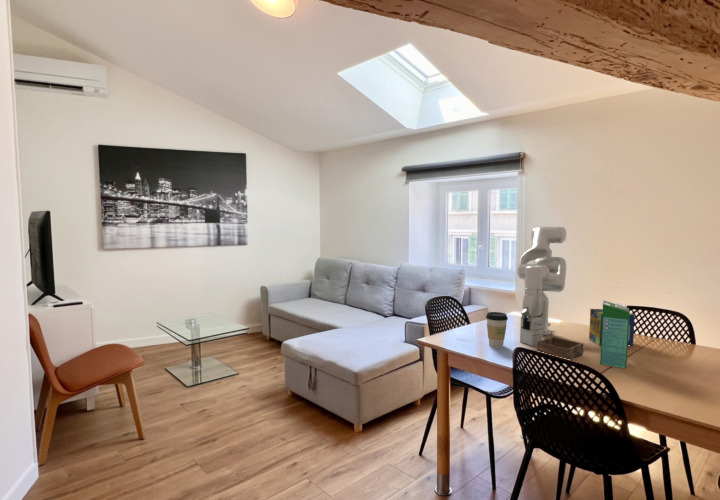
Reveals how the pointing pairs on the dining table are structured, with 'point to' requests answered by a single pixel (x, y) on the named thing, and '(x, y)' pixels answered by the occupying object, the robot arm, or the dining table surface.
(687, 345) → the dining table surface
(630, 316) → the protein box
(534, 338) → the supplement box
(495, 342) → the coffee cup
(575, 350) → the bin
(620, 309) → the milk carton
